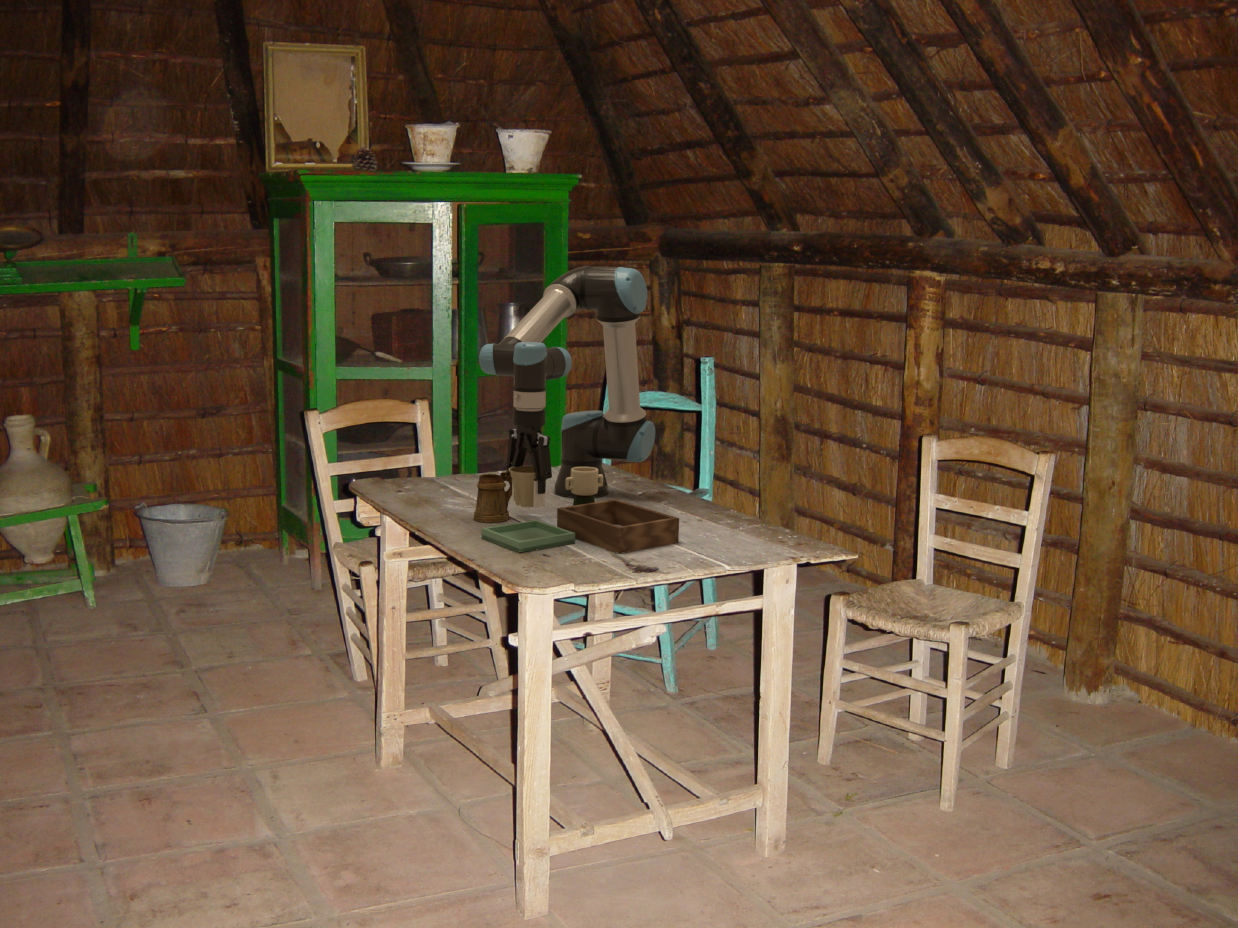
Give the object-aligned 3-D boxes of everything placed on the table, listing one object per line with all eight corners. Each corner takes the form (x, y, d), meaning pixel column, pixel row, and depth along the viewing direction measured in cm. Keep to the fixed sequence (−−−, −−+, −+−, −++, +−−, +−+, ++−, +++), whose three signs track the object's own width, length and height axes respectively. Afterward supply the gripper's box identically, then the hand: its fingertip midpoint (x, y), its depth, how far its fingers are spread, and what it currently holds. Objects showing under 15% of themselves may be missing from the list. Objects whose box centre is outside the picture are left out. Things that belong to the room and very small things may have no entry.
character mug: (595, 513, 319) (596, 464, 316) (608, 519, 313) (609, 469, 310) (558, 517, 313) (559, 468, 311) (571, 523, 307) (572, 473, 305)
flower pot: (517, 510, 281) (518, 473, 279) (502, 502, 289) (502, 466, 288) (554, 507, 285) (555, 471, 284) (538, 499, 293) (538, 464, 292)
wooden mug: (530, 520, 309) (530, 451, 306) (478, 523, 304) (479, 453, 301) (519, 512, 318) (520, 445, 314) (469, 516, 312) (469, 447, 309)
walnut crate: (615, 522, 310) (615, 499, 308) (678, 542, 291) (679, 518, 290) (556, 531, 298) (557, 508, 297) (618, 553, 280) (619, 528, 278)
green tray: (536, 529, 300) (536, 519, 300) (574, 543, 288) (575, 532, 287) (481, 538, 290) (481, 528, 290) (519, 553, 278) (519, 542, 278)
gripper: (491, 404, 289) (490, 497, 293) (542, 415, 273) (540, 513, 277) (517, 402, 293) (516, 493, 298) (568, 413, 277) (567, 509, 282)
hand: (528, 503), depth 287 cm, fingers closed on flower pot, 8 cm apart
